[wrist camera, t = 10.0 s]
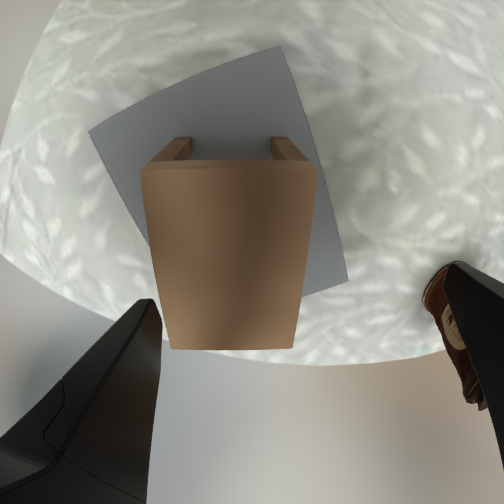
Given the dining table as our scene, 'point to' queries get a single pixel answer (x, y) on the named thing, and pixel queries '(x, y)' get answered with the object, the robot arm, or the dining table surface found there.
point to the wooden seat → (229, 244)
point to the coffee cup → (453, 340)
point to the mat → (224, 141)
